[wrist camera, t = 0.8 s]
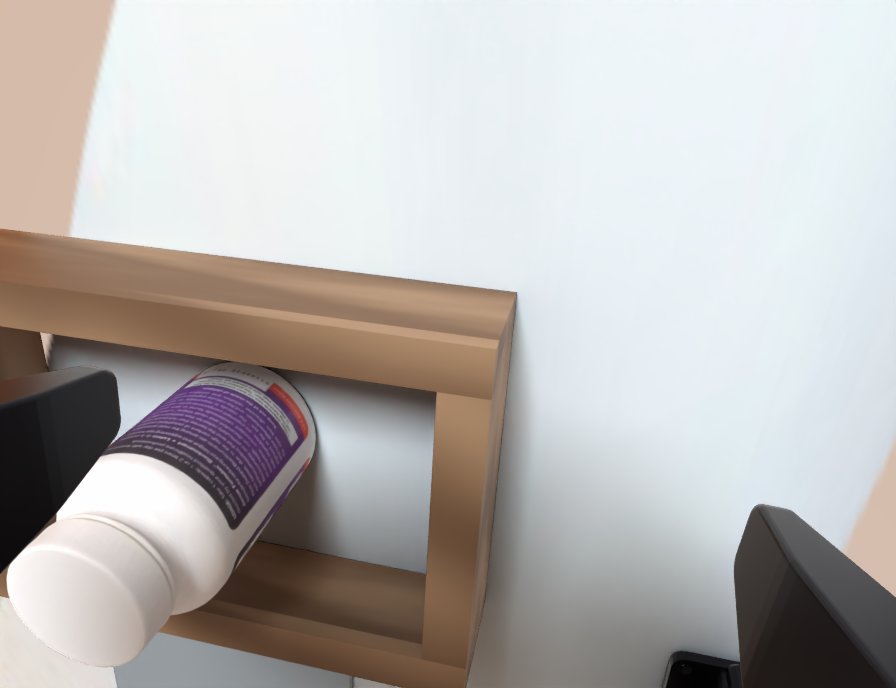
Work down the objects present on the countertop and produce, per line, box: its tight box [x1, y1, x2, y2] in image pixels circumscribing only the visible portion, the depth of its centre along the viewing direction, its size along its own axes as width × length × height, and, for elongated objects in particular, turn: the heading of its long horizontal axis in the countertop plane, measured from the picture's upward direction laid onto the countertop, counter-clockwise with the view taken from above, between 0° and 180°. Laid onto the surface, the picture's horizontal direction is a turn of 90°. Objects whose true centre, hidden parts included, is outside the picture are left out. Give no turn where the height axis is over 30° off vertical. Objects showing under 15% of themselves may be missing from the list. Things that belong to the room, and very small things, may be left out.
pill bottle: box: [7, 362, 316, 667], centre depth 22 cm, size 5×5×10 cm
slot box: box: [0, 229, 517, 688], centre depth 24 cm, size 13×19×5 cm
